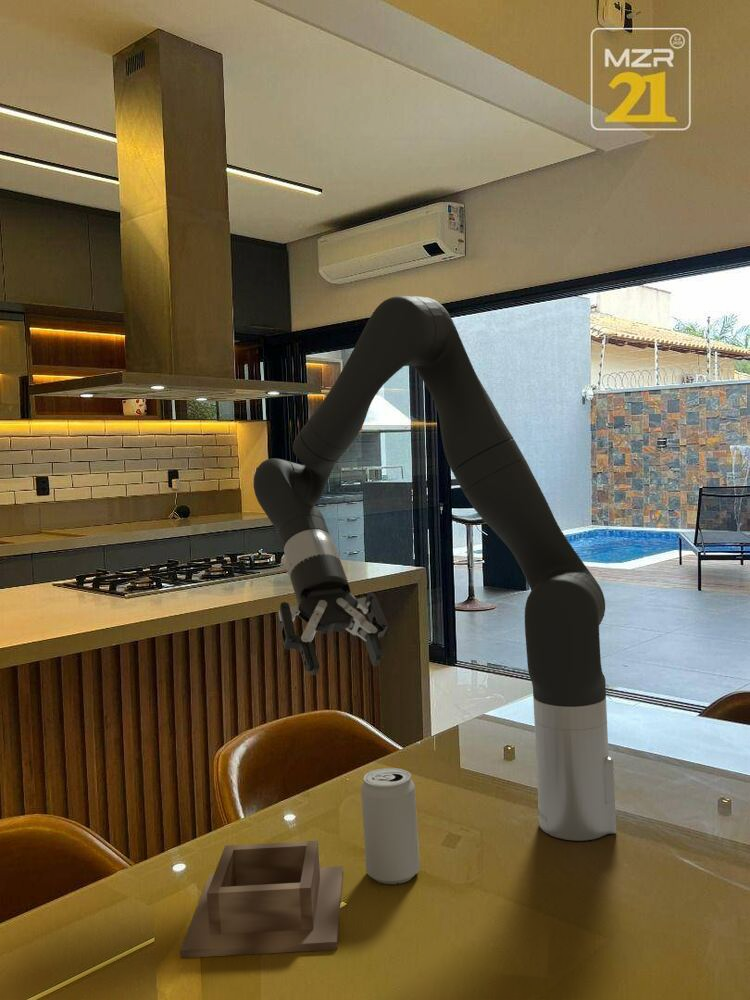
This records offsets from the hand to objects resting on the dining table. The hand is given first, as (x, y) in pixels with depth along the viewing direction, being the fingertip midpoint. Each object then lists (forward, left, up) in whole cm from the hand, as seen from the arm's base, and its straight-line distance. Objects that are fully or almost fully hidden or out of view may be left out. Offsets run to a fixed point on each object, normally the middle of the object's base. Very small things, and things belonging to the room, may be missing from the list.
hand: (347, 667), depth 113 cm
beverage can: (-5, +11, -23) cm, 25 cm away
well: (+9, +18, -23) cm, 30 cm away
